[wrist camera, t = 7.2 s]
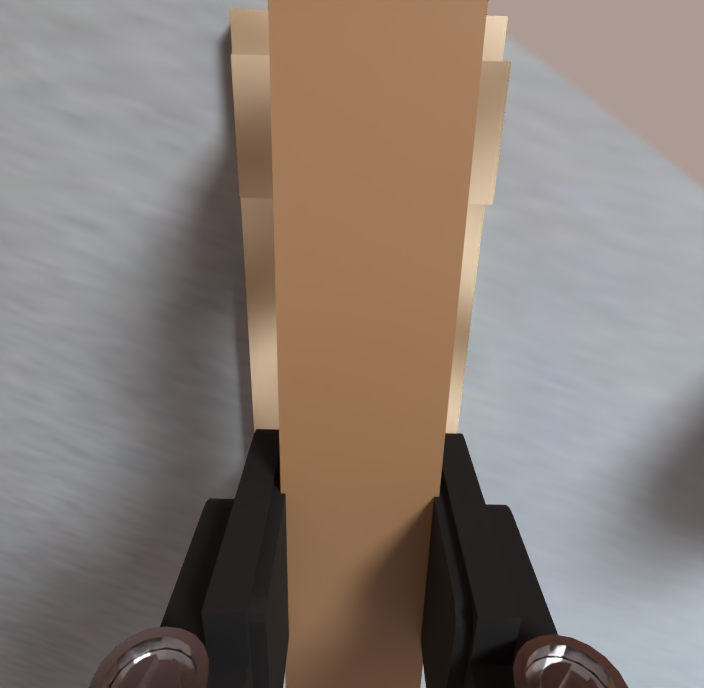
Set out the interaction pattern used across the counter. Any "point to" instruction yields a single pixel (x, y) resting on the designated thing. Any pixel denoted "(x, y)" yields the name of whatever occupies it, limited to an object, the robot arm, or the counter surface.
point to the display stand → (258, 199)
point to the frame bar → (366, 313)
